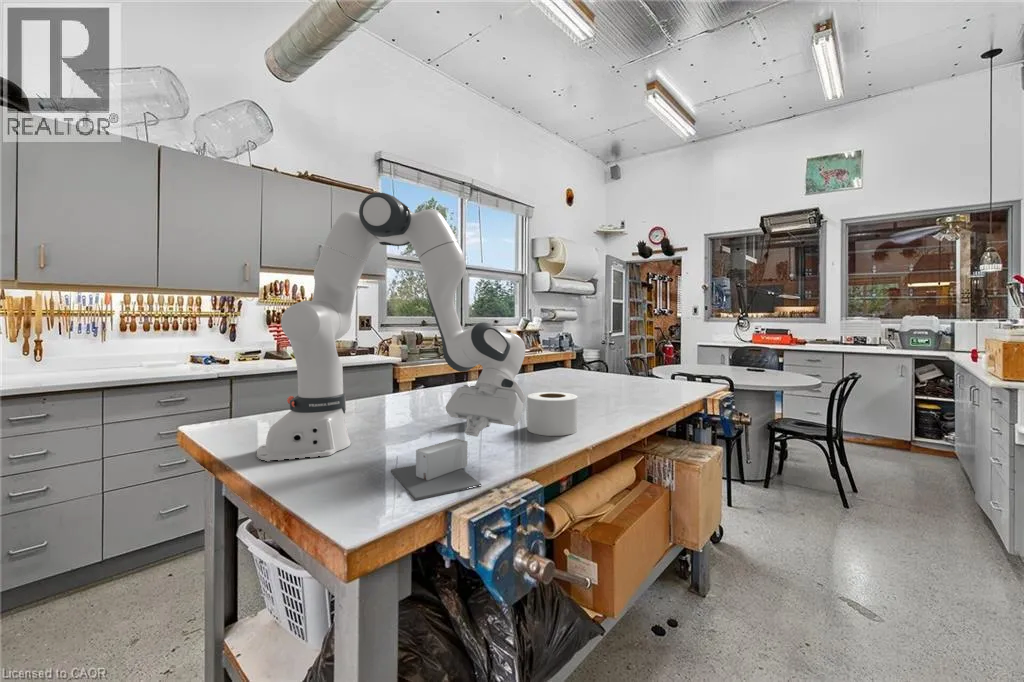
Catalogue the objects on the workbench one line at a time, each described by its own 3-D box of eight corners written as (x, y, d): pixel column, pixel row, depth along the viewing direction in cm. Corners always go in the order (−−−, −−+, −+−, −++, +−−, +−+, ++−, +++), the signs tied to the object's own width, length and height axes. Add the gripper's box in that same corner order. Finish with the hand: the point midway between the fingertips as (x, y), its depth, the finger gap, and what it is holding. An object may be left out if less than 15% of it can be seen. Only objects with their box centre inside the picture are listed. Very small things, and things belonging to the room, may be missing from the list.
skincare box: (456, 437, 105) (414, 448, 96) (469, 441, 102) (427, 452, 93) (455, 463, 106) (414, 476, 96) (469, 467, 103) (427, 481, 94)
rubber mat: (415, 500, 85) (415, 497, 85) (390, 471, 101) (390, 469, 101) (481, 486, 92) (481, 483, 92) (448, 461, 108) (448, 459, 108)
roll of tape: (527, 423, 146) (527, 390, 145) (575, 424, 145) (575, 391, 144) (526, 436, 130) (526, 399, 130) (579, 437, 129) (579, 400, 129)
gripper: (454, 377, 117) (430, 422, 109) (523, 383, 106) (501, 433, 99) (465, 391, 121) (442, 435, 113) (531, 398, 111) (512, 447, 103)
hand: (470, 434), depth 106 cm, fingers closed
